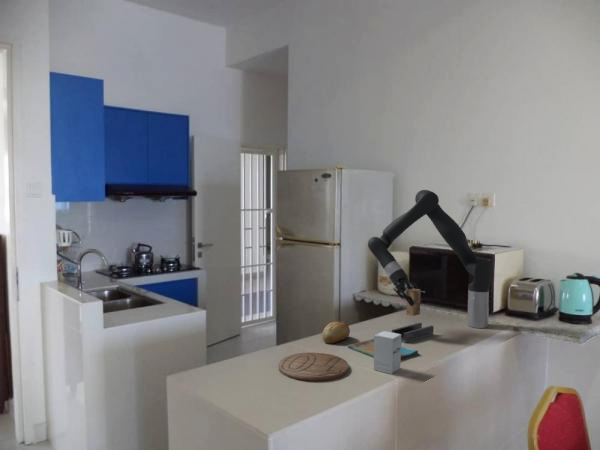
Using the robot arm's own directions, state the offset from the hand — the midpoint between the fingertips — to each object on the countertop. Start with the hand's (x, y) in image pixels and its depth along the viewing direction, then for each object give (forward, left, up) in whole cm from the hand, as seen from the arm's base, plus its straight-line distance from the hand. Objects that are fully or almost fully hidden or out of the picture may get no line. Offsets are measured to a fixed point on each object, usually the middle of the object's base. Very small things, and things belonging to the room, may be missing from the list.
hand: (416, 303), depth 205 cm
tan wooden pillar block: (0, -2, -5) cm, 5 cm away
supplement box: (+40, +17, -15) cm, 46 cm away
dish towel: (+26, +3, -16) cm, 31 cm away
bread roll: (+30, -19, -15) cm, 39 cm away
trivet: (+60, 0, -16) cm, 62 cm away
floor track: (0, -2, -15) cm, 15 cm away
